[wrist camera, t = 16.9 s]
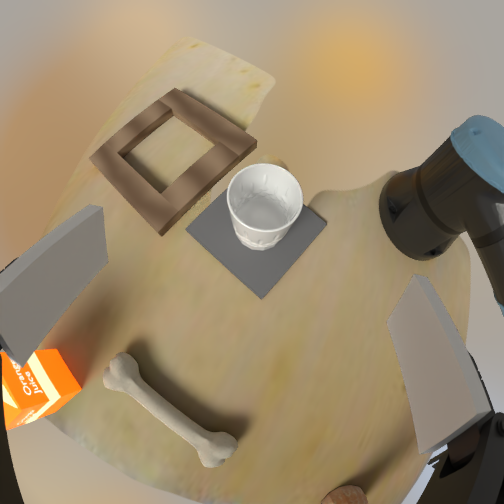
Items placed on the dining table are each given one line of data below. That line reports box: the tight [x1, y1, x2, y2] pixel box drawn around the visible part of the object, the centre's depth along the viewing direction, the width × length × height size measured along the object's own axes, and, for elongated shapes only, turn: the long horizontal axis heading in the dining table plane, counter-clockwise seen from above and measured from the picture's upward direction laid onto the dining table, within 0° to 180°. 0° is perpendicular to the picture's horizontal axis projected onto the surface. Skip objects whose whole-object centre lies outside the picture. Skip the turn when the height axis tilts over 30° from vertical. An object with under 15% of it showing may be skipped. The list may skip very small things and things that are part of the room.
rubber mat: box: [186, 188, 326, 299], centre depth 38 cm, size 14×14×1 cm
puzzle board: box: [89, 88, 257, 236], centre depth 40 cm, size 20×20×2 cm
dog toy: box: [103, 352, 238, 467], centre depth 29 cm, size 20×6×5 cm, turn 52°
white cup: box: [227, 163, 303, 251], centre depth 32 cm, size 8×8×10 cm
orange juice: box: [0, 349, 82, 430], centre depth 21 cm, size 8×9×20 cm
